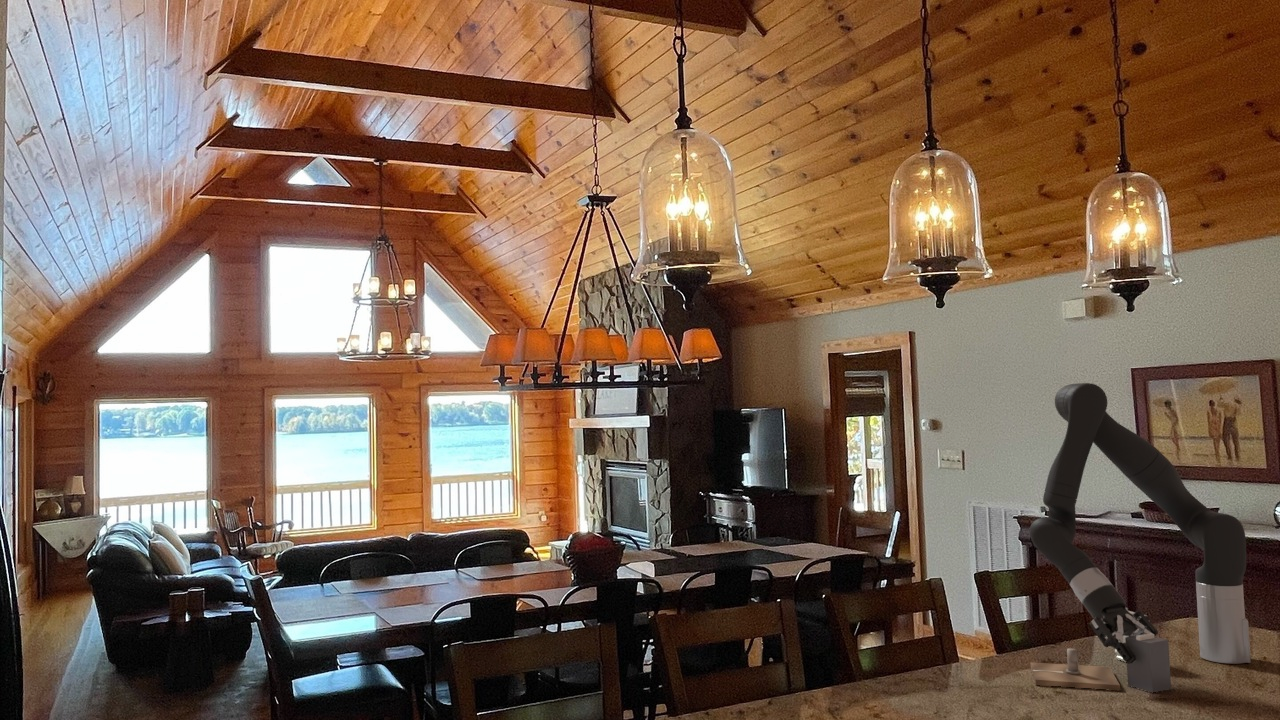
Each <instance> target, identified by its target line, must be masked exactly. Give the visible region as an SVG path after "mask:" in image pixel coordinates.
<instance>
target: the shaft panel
mask: <svg viewBox="0 0 1280 720" xmlns="http://www.w3.org/2000/svg"><path fill="white" fill-rule="evenodd" d="M1066 658H1067V661H1066V662H1067V664H1063V663H1062V664H1061V663H1046V662H1032V661H1031V662H1030V669H1031V670H1030V671H1031V673H1033V674H1032V677H1033V681H1034V683H1035V684H1036V685H1040V686H1039V687H1051V686H1061V687H1060V688H1066V687H1075V688H1074V689H1081V688H1097V689H1109V690H1108V691H1111V690H1120V691H1121V685H1120V683H1119V681H1118V679H1117V678H1116V676H1115V674H1114V673H1113V671H1112V669H1111V667H1110V666H1099V665H1098V666H1097V665H1096V666H1095V665H1081V664H1080V665H1079V661H1078V660H1079V658H1078V649H1076V648H1073V647H1072V648H1067V649H1066ZM1036 685H1035V686H1036Z"/></svg>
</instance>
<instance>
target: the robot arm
mask: <svg viewBox="0 0 1280 720" xmlns="http://www.w3.org/2000/svg"><path fill="white" fill-rule="evenodd" d="M1054 406H1055V409H1056V412H1057V413H1058V414H1059V416H1060V417H1061V418H1062V419H1063V420H1065V421H1066V422H1067V428H1066V429H1067V430H1066V432H1065V437H1064V439H1063V442H1062V444H1061V447H1060V448H1059V451H1058V452H1057V454H1056V456H1055V458H1054V460H1053V462H1052V464H1051V467H1050V469H1049V472H1048V476H1047V479H1046V483H1045V488H1044V493H1043V499H1042V500H1043V501H1042V502H1043V504H1044V505H1045V506H1046V507H1047V508H1048V515H1047V516H1048V517H1040V518H1036V519H1035V520H1034V521H1033V522H1032V523H1031V524H1030V527H1029V537H1030V539H1031V542H1032V543H1033V545H1034V546H1035V548H1036V549H1037V550H1038V551H1039V552H1040V553H1041V554H1042V555H1043V556H1044V557H1045V559H1047V560H1048V561H1049V562H1050V563H1051V564H1052V565H1053V566H1055V567H1056V569H1058V570H1059V572H1060V573H1061V575H1062V577H1063V578H1064V579H1065V581H1066V582H1067V583H1068V584H1069V586H1070V587H1071V589H1072V591H1073V592H1074V595H1075V596H1076V597H1077V599H1078V600H1079V601H1080V602H1081V604H1082V605H1083V607H1084V608H1085V609H1086V610H1087V612H1088V613H1089V614H1090V616H1091V617H1092V620H1091V621H1090V622H1089V623H1088V624H1089V626H1090V627H1091V629H1092V630H1093V632H1094V633H1095V635H1096V636H1097V638H1098V639H1099V641H1100V642H1101V644H1102V645H1103V646H1104V647H1106V648H1109V647H1111V648H1112V649H1114V650H1115V649H1116V650H1117V651H1118V653H1119V654H1120V655H1121V657H1122V658H1123V659H1124V660H1125V661H1126V662H1127V663H1128V664H1131V663H1133V662H1134V661H1135V660H1136V657H1135V655H1134V654H1133V653H1132V651H1131V650H1130V649H1129V647H1128V646H1127V645H1126V643H1123V636H1137V635H1141V633H1143V634H1150V633H1152V634H1154V637H1157V635H1158V634H1159V631H1158V630H1157V629H1156V628H1155V626H1154V625H1153V624H1152V623H1151V621H1150V619H1149V620H1148V619H1147V618H1146V617H1145V616H1144V615H1145V614H1143V612H1142V610H1139V609H1138V610H1136V611H1135V613H1133V614H1131V613H1130V612H1128V611H1129V610H1128V611H1127V610H1126V608H1127V607H1126V600H1125V598H1124V597H1122V595H1121V594H1120V593H1119V591H1118V590H1117V589H1116V588H1115V586H1114V585H1113V584H1112V583H1111V581H1110V580H1109V578H1107V576H1106V575H1105V574H1104V573H1103V572H1102V571H1101V570H1100V569H1099V568H1098V567H1097V566H1096V564H1095V563H1094V562H1093V560H1092V559H1091V558H1090V557H1089V555H1088V554H1087V553H1086V552H1085V551H1083V550H1082V549H1080V548H1078V547H1076V546H1075V545H1074V544H1073V542H1074V540H1075V536H1076V532H1077V531H1076V527H1077V526H1076V525H1077V522H1076V517H1077V516H1076V515H1077V514H1076V504H1077V502H1078V501H1077V500H1078V497H1079V496H1078V495H1079V491H1080V487H1081V483H1082V478H1083V475H1084V471H1085V467H1086V464H1087V461H1088V458H1089V455H1090V453H1091V452H1090V451H1091V449H1092V446H1093V444H1094V445H1095V446H1096V448H1098V449H1099V450H1100V451H1101V452H1102V454H1104V456H1105V457H1106V458H1107V459H1108V460H1110V462H1111V463H1112V464H1114V466H1116V468H1118V469H1119V471H1120V472H1121V473H1122V474H1123V475H1124V476H1125V477H1126V478H1127V479H1128V480H1129V481H1130V482H1131V483H1132V485H1135V487H1136V488H1138V489H1139V490H1140V491H1141V492H1142V493H1144V494H1145V496H1146V497H1147V498H1149V499H1150V500H1151V501H1152V502H1153V503H1154V504H1156V505H1157V507H1159V508H1160V509H1161V510H1162V511H1164V512H1165V514H1166V515H1167V516H1168V517H1169V518H1170V519H1171V520H1172V521H1173V522H1174V524H1175V525H1176V526H1177V527H1178V529H1179V530H1180V531H1181V532H1182V533H1183V535H1184V536H1185V537H1186V538H1187V539H1188V541H1189V542H1190V543H1191V544H1193V545H1194V546H1195V547H1196V548H1199V549H1201V550H1203V563H1202V566H1199V567H1197V568H1196V570H1195V571H1194V574H1195V589H1196V606H1197V607H1196V608H1197V623H1198V625H1197V626H1198V627H1197V628H1198V640H1199V642H1198V643H1199V647H1198V649H1199V656H1200V658H1201V659H1204V660H1207V661H1210V662H1214V663H1220V664H1233V665H1234V664H1236V665H1237V664H1245V663H1246V664H1247V663H1248V664H1250V663H1251V662H1252V661H1251V660H1252V659H1251V649H1250V645H1251V644H1250V629H1249V621H1248V619H1247V618H1246V611H1245V598H1244V597H1245V596H1244V581H1243V580H1244V575H1245V573H1246V569H1247V543H1246V542H1247V538H1246V533H1245V528H1244V526H1243V524H1242V523H1241V521H1240V520H1239V519H1238V518H1237V517H1235V516H1233V515H1230V514H1228V513H1223V512H1216V511H1213V510H1211V509H1210V508H1208V507H1206V506H1205V505H1204V504H1203V503H1202V502H1200V501H1199V500H1198V499H1197V498H1196V497H1195V496H1194V495H1193V494H1192V493H1191V492H1190V491H1189V490H1188V489H1187V488H1186V486H1185V484H1184V482H1183V480H1182V479H1181V475H1180V474H1179V472H1178V471H1177V469H1176V467H1175V466H1174V464H1173V463H1172V462H1171V461H1170V460H1169V459H1168V458H1167V457H1166V456H1165V455H1164V454H1163V453H1162V452H1160V450H1159V449H1158V448H1156V447H1155V446H1154V445H1153V444H1151V443H1150V442H1149V441H1148V440H1146V439H1145V438H1144V437H1141V436H1140V435H1139V434H1137V433H1136V432H1134V431H1132V430H1130V429H1129V428H1127V427H1125V426H1124V425H1122V424H1120V423H1119V422H1117V421H1116V420H1115V419H1114V418H1113V417H1112V416H1111V415H1110V414H1109V413H1108V412H1107V408H1108V397H1107V394H1106V392H1105V391H1104V389H1103V388H1102V387H1100V386H1099V385H1097V384H1095V383H1089V382H1080V383H1070V384H1067V385H1065V386H1062V387H1061V388H1059V389H1058V390H1057V392H1056V394H1055V396H1054ZM1149 621H1150V622H1149ZM1135 626H1136V627H1137V628H1138V629H1137V630H1136V631H1135ZM1147 627H1148V628H1149V629H1150V631H1151V632H1150V631H1148V630H1147V629H1146V628H1147ZM1104 634H1105V635H1106V636H1107V637H1104ZM1126 662H1125V663H1126ZM1127 663H1126V664H1127Z"/></svg>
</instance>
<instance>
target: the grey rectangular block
mask: <svg viewBox="0 0 1280 720" xmlns="http://www.w3.org/2000/svg"><path fill="white" fill-rule="evenodd" d="M1125 640H1126V645H1127V646H1128V647H1129V649H1130V650H1131V651H1132V653H1133V654H1134V655H1135V657H1136V660H1135V661H1134V662H1133V663H1131V664H1128V663H1126V671H1127V674H1126V675H1127V687H1129V686H1132V687H1131V688H1133V687H1136V688H1139V689H1138V690H1140V689H1143V690H1146V691H1149V692H1148V693H1150V692H1152V693H1151V694H1154V693H1153V692H1156V693H1159V692H1158V691H1161V692H1164V691H1163V690H1166V691H1170V690H1172V683H1171V681H1172V677H1171V661H1170V644H1169V639H1166V638H1162V637H1157V636H1155V637H1154V634H1152V633H1150V634H1142V635H1137V636H1131V637H1125ZM1136 688H1135V689H1136ZM1169 689H1170V690H1169ZM1143 690H1142V691H1143ZM1146 691H1145V692H1146Z"/></svg>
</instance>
